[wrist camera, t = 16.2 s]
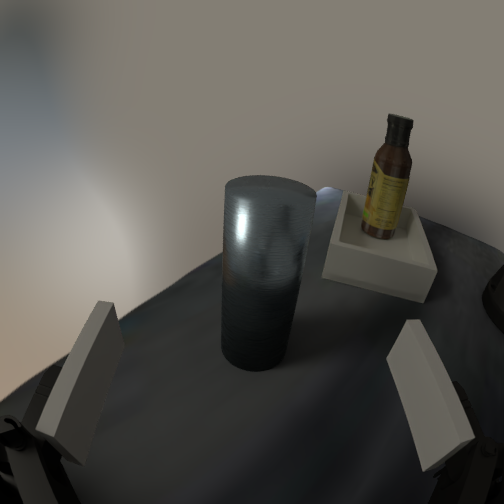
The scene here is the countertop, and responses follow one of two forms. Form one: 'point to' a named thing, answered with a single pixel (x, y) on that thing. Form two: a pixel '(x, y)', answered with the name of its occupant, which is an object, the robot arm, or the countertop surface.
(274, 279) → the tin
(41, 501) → the robot arm
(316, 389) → the countertop surface
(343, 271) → the tray
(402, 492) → the countertop surface
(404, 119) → the sauce bottle
